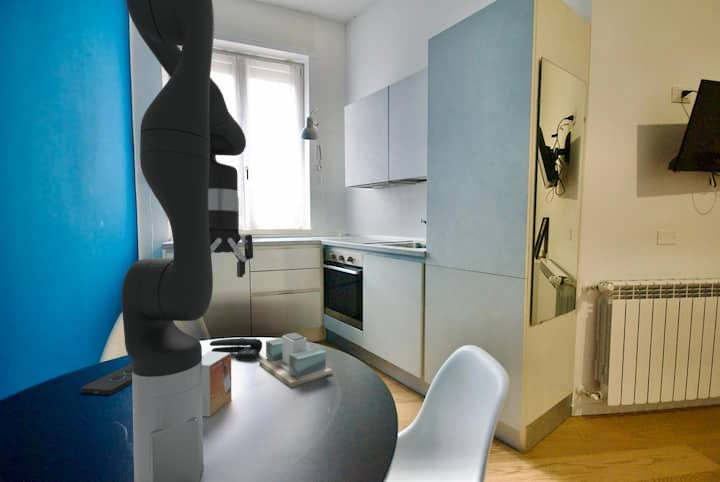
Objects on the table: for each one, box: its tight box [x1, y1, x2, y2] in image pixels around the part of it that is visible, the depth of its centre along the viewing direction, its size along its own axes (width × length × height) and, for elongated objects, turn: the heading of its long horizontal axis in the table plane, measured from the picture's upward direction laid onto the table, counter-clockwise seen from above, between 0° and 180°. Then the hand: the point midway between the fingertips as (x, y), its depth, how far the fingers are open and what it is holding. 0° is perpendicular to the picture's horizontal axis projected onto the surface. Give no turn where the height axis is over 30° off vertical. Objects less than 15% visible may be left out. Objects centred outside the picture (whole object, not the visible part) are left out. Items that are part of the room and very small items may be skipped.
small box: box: [202, 350, 232, 418], centre depth 73 cm, size 8×6×10 cm
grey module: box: [281, 332, 307, 365], centre depth 93 cm, size 4×6×7 cm, turn 39°
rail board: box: [259, 337, 333, 388], centre depth 93 cm, size 18×12×6 cm, turn 40°
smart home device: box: [81, 362, 132, 396], centre depth 89 cm, size 8×2×20 cm
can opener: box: [209, 336, 263, 361], centre depth 104 cm, size 18×7×6 cm, turn 73°
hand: (222, 278), depth 82 cm, fingers open, 8 cm apart
